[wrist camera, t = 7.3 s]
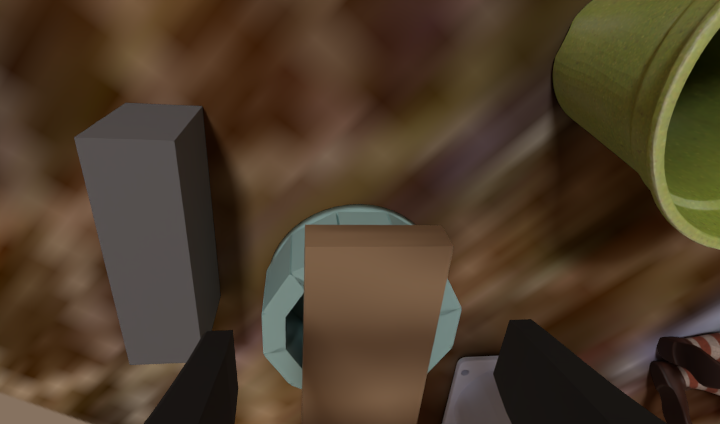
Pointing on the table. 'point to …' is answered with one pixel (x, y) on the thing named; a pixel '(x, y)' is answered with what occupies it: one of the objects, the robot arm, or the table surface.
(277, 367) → the bowl
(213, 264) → the grey rectangular block
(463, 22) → the table surface
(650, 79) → the plant pot
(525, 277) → the table surface
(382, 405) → the walnut board
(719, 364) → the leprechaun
